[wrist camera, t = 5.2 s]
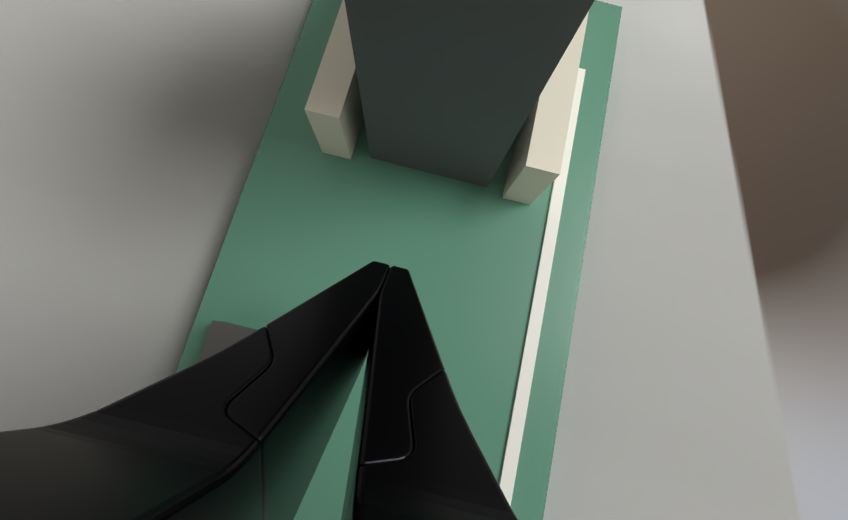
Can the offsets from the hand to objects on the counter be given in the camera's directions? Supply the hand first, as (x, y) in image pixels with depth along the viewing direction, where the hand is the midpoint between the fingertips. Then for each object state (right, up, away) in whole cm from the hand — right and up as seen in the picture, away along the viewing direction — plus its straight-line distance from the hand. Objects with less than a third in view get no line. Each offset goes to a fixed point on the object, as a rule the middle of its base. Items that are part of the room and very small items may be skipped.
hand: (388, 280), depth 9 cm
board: (0, +2, +7) cm, 7 cm away
